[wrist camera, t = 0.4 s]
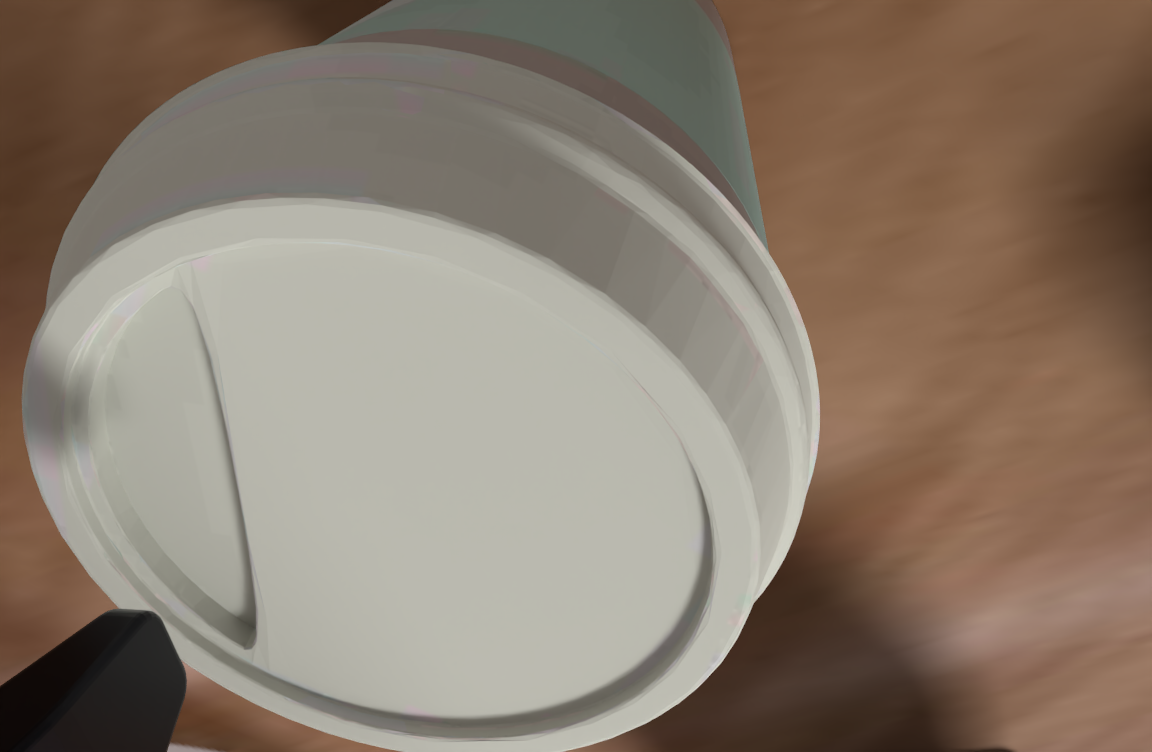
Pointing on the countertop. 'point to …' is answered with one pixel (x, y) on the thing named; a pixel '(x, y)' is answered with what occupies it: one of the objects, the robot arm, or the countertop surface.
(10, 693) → the robot arm
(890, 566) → the countertop surface
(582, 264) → the coffee cup
